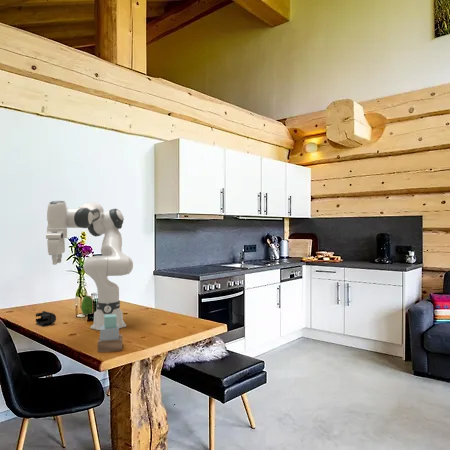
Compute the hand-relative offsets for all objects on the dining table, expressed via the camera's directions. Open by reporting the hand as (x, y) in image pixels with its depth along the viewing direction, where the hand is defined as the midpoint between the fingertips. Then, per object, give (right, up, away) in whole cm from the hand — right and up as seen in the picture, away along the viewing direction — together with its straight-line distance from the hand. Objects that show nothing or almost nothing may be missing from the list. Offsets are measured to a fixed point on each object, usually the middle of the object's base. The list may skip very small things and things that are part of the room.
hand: (57, 263), depth 188 cm
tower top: (+28, -32, -10) cm, 44 cm away
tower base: (+28, -37, -10) cm, 48 cm away
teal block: (+28, -27, -10) cm, 41 cm away
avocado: (-5, -38, +57) cm, 69 cm away
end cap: (-21, -38, +33) cm, 54 cm away
